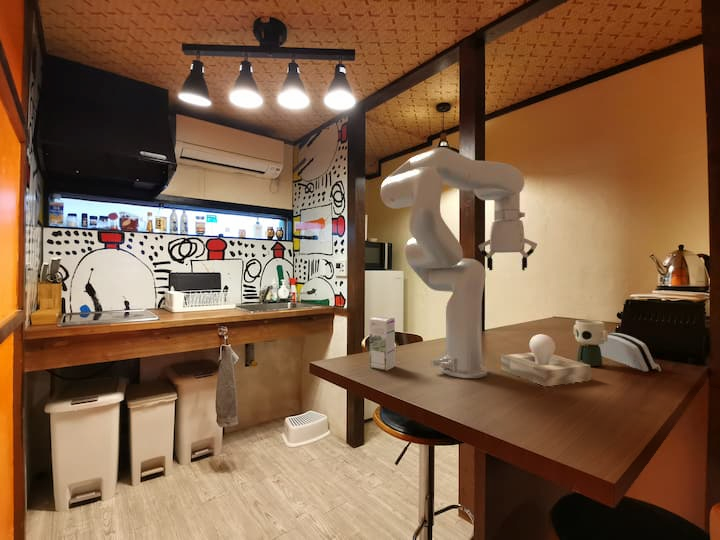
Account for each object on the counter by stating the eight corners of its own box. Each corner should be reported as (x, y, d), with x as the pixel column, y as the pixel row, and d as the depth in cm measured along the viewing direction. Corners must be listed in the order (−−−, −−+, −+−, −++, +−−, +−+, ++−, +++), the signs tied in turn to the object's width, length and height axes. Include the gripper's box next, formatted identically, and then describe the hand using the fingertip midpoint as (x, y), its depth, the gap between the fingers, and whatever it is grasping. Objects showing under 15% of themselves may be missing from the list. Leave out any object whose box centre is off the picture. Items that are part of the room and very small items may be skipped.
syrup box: (395, 366, 98) (395, 317, 98) (386, 371, 93) (386, 319, 93) (378, 363, 101) (378, 315, 101) (368, 368, 96) (368, 318, 96)
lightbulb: (524, 371, 93) (524, 332, 92) (545, 370, 93) (545, 332, 93) (538, 378, 86) (538, 336, 86) (560, 378, 87) (560, 336, 87)
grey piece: (662, 371, 93) (650, 337, 93) (646, 377, 93) (634, 343, 93) (616, 355, 109) (606, 327, 109) (602, 360, 109) (592, 332, 109)
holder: (544, 387, 80) (544, 370, 80) (500, 369, 95) (500, 355, 94) (590, 380, 85) (590, 365, 85) (541, 364, 99) (541, 351, 99)
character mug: (564, 360, 103) (564, 319, 103) (583, 359, 105) (583, 318, 105) (596, 371, 93) (596, 325, 93) (617, 369, 94) (617, 324, 94)
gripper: (537, 217, 106) (536, 270, 106) (480, 220, 114) (480, 270, 114) (537, 213, 99) (537, 270, 99) (477, 217, 107) (477, 270, 107)
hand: (506, 270), depth 107 cm, fingers open, 9 cm apart
